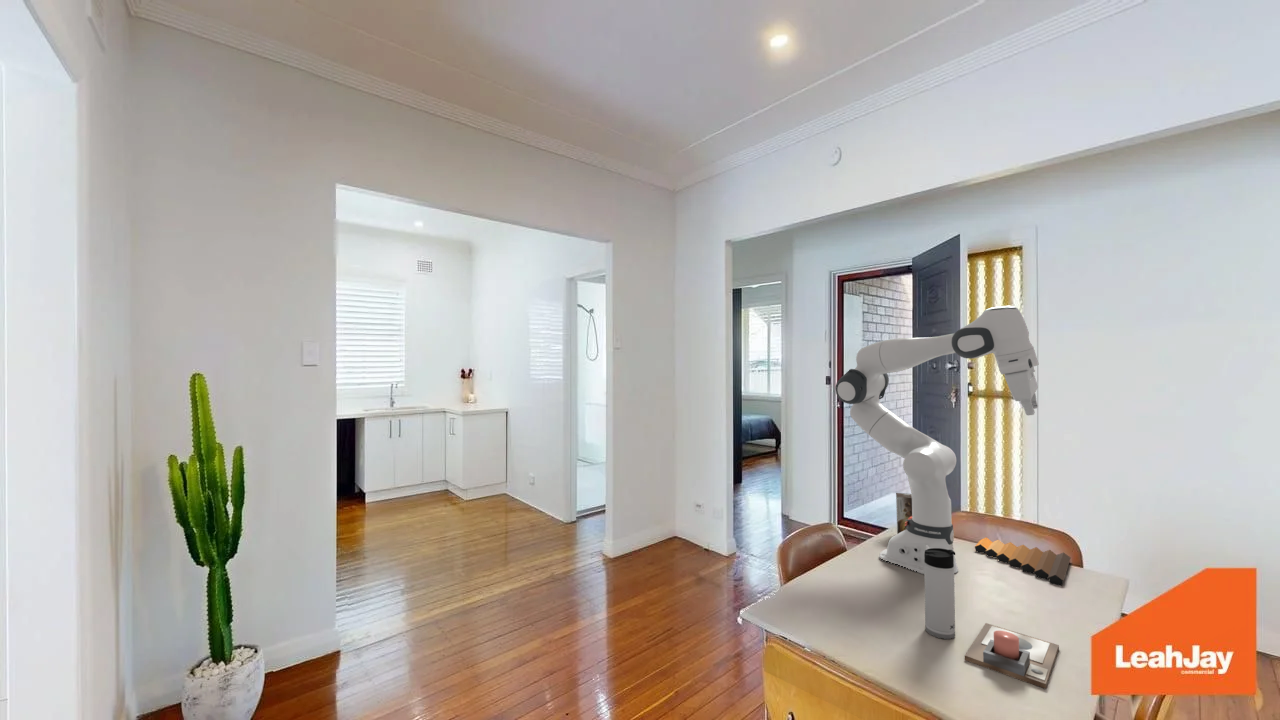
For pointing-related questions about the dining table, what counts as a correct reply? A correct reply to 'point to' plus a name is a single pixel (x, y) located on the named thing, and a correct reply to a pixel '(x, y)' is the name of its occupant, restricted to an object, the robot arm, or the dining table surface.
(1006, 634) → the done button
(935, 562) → the travel mug
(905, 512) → the coffee box
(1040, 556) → the pan flute
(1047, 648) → the brown board with holder
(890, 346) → the robot arm
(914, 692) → the dining table surface
